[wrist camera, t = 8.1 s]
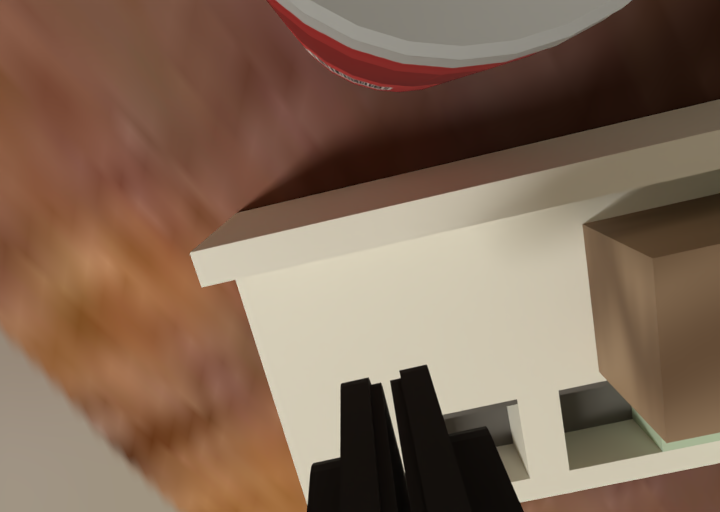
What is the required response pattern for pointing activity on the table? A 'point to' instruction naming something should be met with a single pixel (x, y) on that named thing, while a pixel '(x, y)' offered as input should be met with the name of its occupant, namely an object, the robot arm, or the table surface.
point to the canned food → (432, 35)
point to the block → (660, 312)
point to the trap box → (468, 297)
